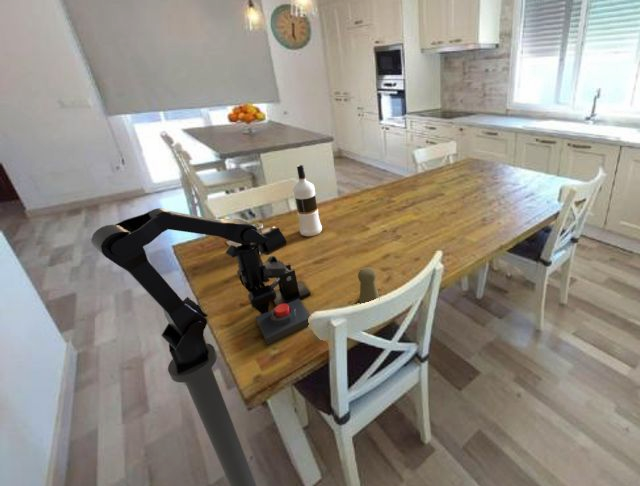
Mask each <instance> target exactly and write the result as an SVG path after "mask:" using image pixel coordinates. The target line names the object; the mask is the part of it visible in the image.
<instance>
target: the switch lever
mask: <svg viewBox="0 0 640 486" xmlns="http://www.w3.org/2000/svg"><path fill="white" fill-rule="evenodd" d="M287 271H289V270H288V269H287V268H286V270H285V272H287ZM279 283H280V278H278V279H277V278H276V279H275V280H274V281H273V282H272V283H271V284H269V286H272V287H273V289H274V290H275V288H276V287H278V286H279V285H278V284H279Z"/></svg>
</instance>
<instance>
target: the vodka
mask: <svg viewBox="0 0 640 486" xmlns="http://www.w3.org/2000/svg"><path fill="white" fill-rule="evenodd" d="M296 170H297V175H298V182H297V183H295V184H294V186H293V188H292V191H293V197H294V200H295V206H296V209H297V216H298V224H299V234H300V235H302V236H303V237H315V236H317V235H319V234H320V233H321V232H323V231H322V230H323V226H322V223H321V221H320V216H319V215H320V214H319V209H318V205H317V204H318V203H317V196H316V189H315V188H316V187H315V185H314V184H313V183H312V182H310V181H308V180H307V179H306V172H305V167H304V165H303V164H299V165H297V166H296Z"/></svg>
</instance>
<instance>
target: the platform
mask: <svg viewBox="0 0 640 486" xmlns="http://www.w3.org/2000/svg"><path fill="white" fill-rule="evenodd" d="M251 224H253V225H255V226H256V228H257V231H258V233H262V232H265V231H267V230H269V229H271V228H272V227H269V226H268V227H265V228H264V224H263V222H260V223H259V222H258V221H255V222H253V223H252V222H251ZM225 243H226V244H227V245H228V247H230V245H233V246H236V245H239V243H236V242H233V241H230V240H228V241H225Z"/></svg>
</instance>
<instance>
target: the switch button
mask: <svg viewBox="0 0 640 486" xmlns="http://www.w3.org/2000/svg"><path fill="white" fill-rule="evenodd" d="M274 308H275V314H276V316H277V317H284V316H286V315H288V314H289V312H290V310H289V306H288V304H280V305H278V306H275V307H274Z"/></svg>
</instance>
